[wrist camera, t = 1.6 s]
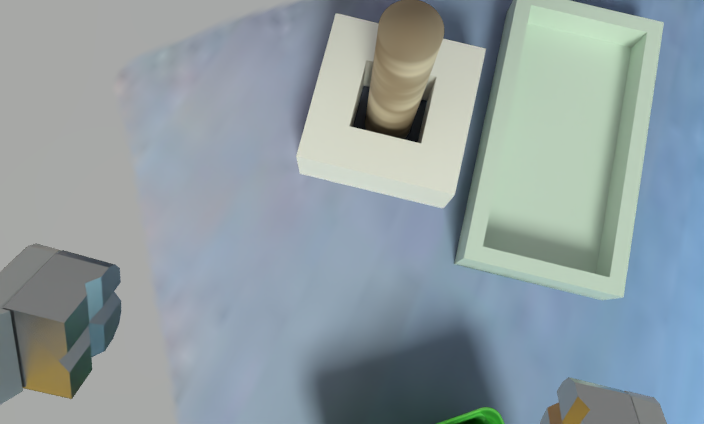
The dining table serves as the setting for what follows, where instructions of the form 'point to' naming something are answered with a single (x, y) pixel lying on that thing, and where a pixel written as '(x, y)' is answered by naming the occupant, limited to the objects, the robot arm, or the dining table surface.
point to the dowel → (402, 65)
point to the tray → (562, 148)
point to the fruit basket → (477, 417)
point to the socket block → (382, 150)
